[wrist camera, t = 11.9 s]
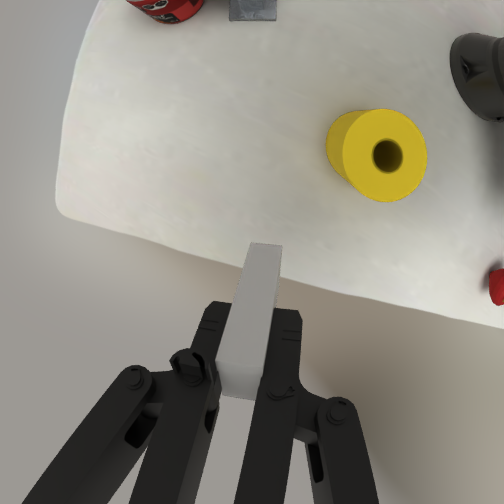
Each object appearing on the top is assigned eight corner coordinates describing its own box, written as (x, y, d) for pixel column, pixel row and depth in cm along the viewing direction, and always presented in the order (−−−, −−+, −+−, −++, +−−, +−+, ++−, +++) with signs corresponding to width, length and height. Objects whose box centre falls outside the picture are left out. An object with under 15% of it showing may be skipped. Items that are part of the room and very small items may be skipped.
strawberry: (474, 283, 41) (499, 313, 32) (493, 252, 38) (523, 278, 29) (486, 292, 42) (510, 321, 33) (505, 263, 38) (532, 289, 29)
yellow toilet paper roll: (310, 151, 34) (323, 161, 26) (354, 96, 30) (379, 89, 22) (365, 196, 36) (390, 219, 28) (406, 144, 32) (441, 154, 24)
